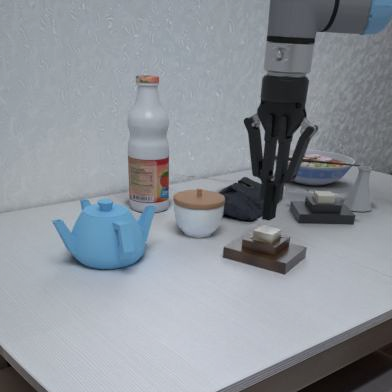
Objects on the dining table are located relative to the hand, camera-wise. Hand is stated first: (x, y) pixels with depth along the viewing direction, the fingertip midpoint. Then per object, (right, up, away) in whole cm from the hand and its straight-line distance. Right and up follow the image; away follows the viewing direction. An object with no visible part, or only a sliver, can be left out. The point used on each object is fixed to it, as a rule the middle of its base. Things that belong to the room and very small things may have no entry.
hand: (268, 218), depth 94 cm
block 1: (0, -7, +4) cm, 8 cm away
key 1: (0, -4, +2) cm, 4 cm away
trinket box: (-13, 0, +15) cm, 20 cm away
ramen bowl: (+19, +23, +52) cm, 60 cm away
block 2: (+16, +7, +27) cm, 32 cm away
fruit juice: (-25, +10, +28) cm, 39 cm away
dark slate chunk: (-3, +11, +31) cm, 33 cm away
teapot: (-30, -7, +2) cm, 31 cm away
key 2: (+16, +10, +25) cm, 31 cm away
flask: (+27, +11, +34) cm, 45 cm away
